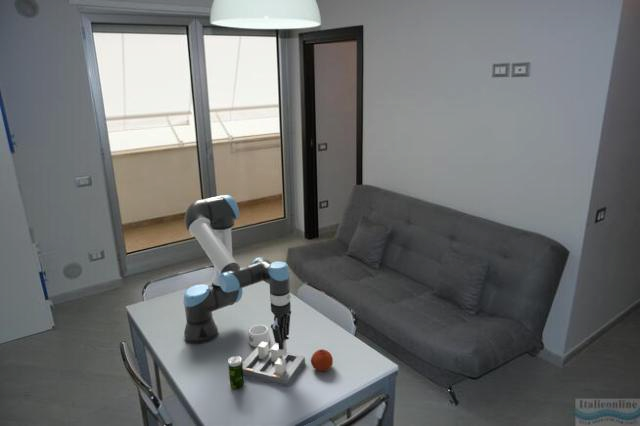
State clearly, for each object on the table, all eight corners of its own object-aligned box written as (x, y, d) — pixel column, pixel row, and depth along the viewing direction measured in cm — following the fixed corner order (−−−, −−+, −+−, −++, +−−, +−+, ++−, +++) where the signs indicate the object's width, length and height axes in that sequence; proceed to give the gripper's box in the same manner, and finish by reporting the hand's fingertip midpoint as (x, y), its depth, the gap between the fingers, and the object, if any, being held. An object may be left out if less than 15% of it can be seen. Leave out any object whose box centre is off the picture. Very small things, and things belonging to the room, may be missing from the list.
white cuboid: (271, 361, 187) (270, 348, 185) (275, 356, 190) (274, 344, 188) (277, 362, 185) (277, 350, 184) (281, 358, 189) (281, 345, 187)
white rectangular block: (258, 358, 189) (257, 346, 187) (262, 353, 192) (262, 341, 190) (265, 359, 188) (264, 347, 186) (269, 355, 191) (268, 342, 189)
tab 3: (275, 376, 177) (274, 363, 175) (279, 370, 180) (278, 357, 179) (282, 378, 176) (281, 364, 174) (286, 372, 179) (285, 359, 178)
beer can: (238, 380, 178) (235, 353, 174) (247, 385, 175) (245, 359, 171) (227, 387, 174) (224, 360, 170) (236, 393, 171) (233, 366, 167)
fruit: (311, 361, 188) (310, 345, 186) (332, 361, 188) (332, 345, 185) (310, 375, 180) (309, 358, 177) (332, 375, 179) (332, 358, 177)
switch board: (238, 374, 181) (238, 367, 181) (258, 352, 196) (258, 345, 195) (287, 386, 173) (287, 379, 172) (304, 362, 187) (304, 356, 187)
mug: (274, 341, 204) (273, 329, 202) (257, 350, 197) (256, 338, 195) (258, 331, 212) (257, 319, 210) (241, 339, 205) (240, 328, 204)
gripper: (281, 311, 165) (283, 366, 172) (296, 295, 177) (298, 347, 184) (263, 307, 168) (266, 361, 175) (279, 292, 179) (281, 343, 187)
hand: (282, 354), depth 180 cm, fingers closed
